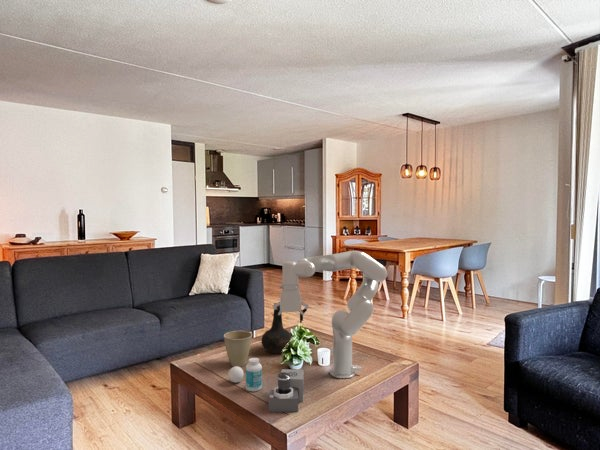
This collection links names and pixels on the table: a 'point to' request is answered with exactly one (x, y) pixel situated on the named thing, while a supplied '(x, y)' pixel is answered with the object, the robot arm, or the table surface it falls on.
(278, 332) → the glass bottle
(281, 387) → the lens
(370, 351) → the table surface
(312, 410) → the table surface
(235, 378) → the white ovoid
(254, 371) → the pill bottle
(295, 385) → the icon cube
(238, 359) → the plant pot
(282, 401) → the grey ring-top block
